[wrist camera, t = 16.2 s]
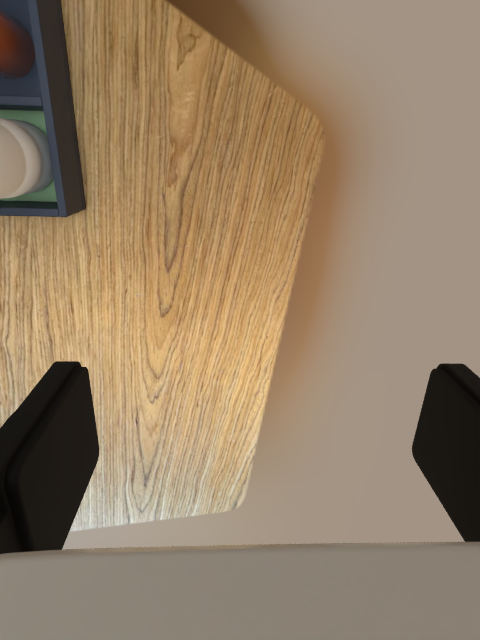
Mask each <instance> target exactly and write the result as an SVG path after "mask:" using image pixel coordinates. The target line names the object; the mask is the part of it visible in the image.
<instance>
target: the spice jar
mask: <svg viewBox="0 0 480 640" xmlns="http://www.w3.org/2000/svg"><path fill="white" fill-rule="evenodd" d="M34 59H35V51H34V44H33V41H32V38H31V36H30V34H29V33H28V31H27V30H26V28H25V27H24V26H23V25H22V24H21V23H20V22H19V21H17V20H16V19H14V18H13V17H11V16H9V15H8V14H6V13H5V12H3V11H1V10H0V76H2V77H5V78H9V79H17V78H21V77H23V76H25V75H26V74H27V73H28V72H29V71H30V70H31V68H32V66H33V63H34Z"/></svg>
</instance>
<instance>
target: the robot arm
mask: <svg viewBox="0 0 480 640" xmlns="http://www.w3.org/2000/svg"><path fill="white" fill-rule="evenodd" d="M412 453H413V457H414V459H415V461H416V463H417V465H418V466H419V468H420V469H421V471H422V473H423V474H424V476H425V478H426V479H427V481H428V482H429V484H430V485H431V487H432V489H433V491H434V492H435V494H436V495H437V497H438V498H439V500H440V502H441V503H442V505H443V507H444V508H445V510H446V512H447V513H448V515H449V517H450V518H451V520H452V521H453V523H454V525H455V526H456V528H457V530H458V531H459V533H460V534H461V536H462V537H463V539H464V541H465V542H412V543H411V542H409V543H334V544H274V545H273V544H271V545H220V546H219V545H218V546H171V547H127V548H94V549H67V550H62V548H63V545H64V542H65V540H66V538H67V535H68V533H69V531H70V528H71V526H72V523H73V521H74V518H75V516H76V513H77V511H78V508H79V506H80V503H81V501H82V498H83V496H84V493H85V491H86V488H87V486H88V483H89V481H90V479H91V476H92V474H93V471H94V469H95V466H96V464H97V461H98V457H99V443H98V436H97V429H96V422H95V415H94V408H93V401H92V394H91V387H90V380H89V373H88V369H87V368H86V367H81V364H80V363H79V362H60V361H58V362H55V363H53V365H52V366H51V367H50V369H49V370H48V371H47V372H46V374H45V375H44V376H43V377H42V379H41V380H40V381H39V382H38V384H37V385H36V386H35V387H34V389H33V390H32V391H31V392H30V394H29V395H28V396H27V398H26V399H25V400H24V401H23V403H22V404H21V405H20V406H19V408H18V409H17V410H16V411H15V412H14V413H13V414H12V415H11V416H10V417H9V418H8V419H7V421H6V422H5V423H4V424H3V426H2V427H1V428H0V640H480V378H479V377H478V376H477V375H476V374H474V373H473V372H472V371H471V370H470V369H469V368H468V367H467V366H466V365H464V364H440V365H439V366H438V367H437V369H433V370H432V371H431V374H430V378H429V381H428V385H427V390H426V393H425V397H424V401H423V405H422V409H421V413H420V417H419V421H418V425H417V429H416V433H415V437H414V441H413V445H412Z"/></svg>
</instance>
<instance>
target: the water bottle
mask: <svg viewBox="0 0 480 640" xmlns="http://www.w3.org/2000/svg"><path fill="white" fill-rule="evenodd" d="M53 179H54V178H53V171H52V165H51V158H50V151H49V145H48V138H47V136H46V135H45V134H44V133H43V132H42V131H41V130H40V129H39V128H37V127H36V126H34V125H32V124H30V123H28V122H25V121H22V120H16V119H3V118H0V199H1V198H12V197H16V196H20V195H22V194H31V193H35V192H39V191H41V190H43V189H45V188H46V187H47V186H49V184H50V183H51V182H52V181H53Z"/></svg>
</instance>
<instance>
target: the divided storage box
mask: <svg viewBox="0 0 480 640" xmlns="http://www.w3.org/2000/svg"><path fill="white" fill-rule="evenodd" d="M0 10H1V11H3V12H5V13H6V14H8V15H9V16H11V17H13V18H14V19H16V20H17V21H19V22H20V23H21V24H22V25H23V26H24V27H25V28H26V30H27V31H28V33H29V34H30V36H31V38H32V41H33V44H34V51H35V59H34V63H33V66H32V68H31V70H30V71H29V72H28V73H27V74H26V75H25V76H23V77H21V78H17V79H9V78H5V77H2V76H0V118H3V119H16V120H22V121H25V122H28V123H30V124H32V125H34V126H36V127H37V128H39V129H40V130H41V131H42V132H43V133H44V134H45V135H46V136H47V138H48V145H49V151H50V158H51V165H52V171H53V178H54V179H53V181H52V182H51V183H50V184H49V186H47V187H46V188H45V189H43V190H41V191H39V192H35V193H31V194H22V195H20V196H16V197H12V198H1V199H0V215H1V216H46V217H68V216H70V215H72V214H75V213H77V212H79V211H82V210H84V209H86V205H85V197H84V189H83V181H82V173H81V164H80V156H79V148H78V140H77V132H76V123H75V115H74V107H73V99H72V91H71V82H70V74H69V66H68V58H67V50H66V41H65V33H64V25H63V17H62V8H61V0H0Z"/></svg>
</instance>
